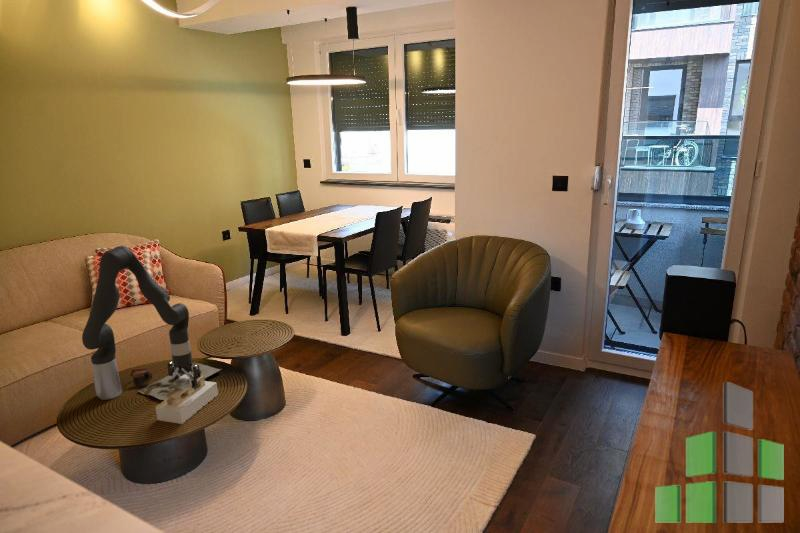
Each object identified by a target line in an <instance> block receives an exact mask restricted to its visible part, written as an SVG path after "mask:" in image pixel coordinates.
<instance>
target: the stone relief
mask: <svg viewBox="0 0 800 533" xmlns="http://www.w3.org/2000/svg"><path fill="white" fill-rule="evenodd" d="M191 363H192V365H197V364H198V365H199V369H200V374H201V375H203V376H204V379H207V378H208V377H211V376H212V375H214V374H216V373H217V372H219V371H221V370H222V368H220V369H219V368H216V367H212V366H210V365H206V364H202V363H199V362H191ZM189 373H191V371H190V372H189ZM183 375H184V374H179V375H178V376H179V378H180V377H181V376H183ZM171 382H172V383H171ZM173 382H174V379H173V377H172V376H169V375H166V376H164V377H163V378H161V379H160V380H157V381H155V382H152V383H151V384H149V385H148V386H145V387H144V388H141V389H140V390H139V389H138V390H137V392H138V393H140V394H143V395H146V396H150V397H151V396H152V397H153V398H156V399H158V400H160V401H164V400H166V394H167V393H169V392H170V391H172V390H173V389H174V386H173ZM153 387H154V388H153ZM171 387H172V388H171ZM148 388H150V389H151V390H150V391H149V392H148V393H149V394H148V393H146V392H147V391H148V390H149V389H148ZM147 389H148V390H147ZM145 391H146V392H145Z"/></svg>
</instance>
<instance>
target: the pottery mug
mask: <svg viewBox="0 0 800 533" xmlns="http://www.w3.org/2000/svg"><path fill="white" fill-rule="evenodd" d="M129 376H130V377H131V378H132V381H131V382H130V384H131V387H132V388H135V387H143V386H145V383H149V382H150V381H151V380H152V378H153V372H152V371H150V368H149V367H140V368H139V367H138V368H134V369H131V373H130V374H129Z"/></svg>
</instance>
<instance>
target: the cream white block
mask: <svg viewBox="0 0 800 533" xmlns="http://www.w3.org/2000/svg"><path fill="white" fill-rule="evenodd" d="M192 376H193V375H192ZM193 377H194V376H193ZM180 378H187V379H189V382H190V385H191V384H192V383H191V379H190V377H188V376H187V375H185V374H184V375H183V376H181V377H180Z"/></svg>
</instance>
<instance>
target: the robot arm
mask: <svg viewBox="0 0 800 533" xmlns="http://www.w3.org/2000/svg"><path fill="white" fill-rule="evenodd" d="M126 269H127V270H128V271H129V272H131V273H132V274H133V275H134V277H135V279H136V281H137V285H138V287H139V290H140V293H141V294H142V295H143V297H144V298H145V299H146V300H147V301H148V302H149V303H150V304H151V305H152V306H153V307H154V308H155V309H156V310H155V311H156V312H157V313H158V315H159V317H160V318H161V320H162V321H163V322H165V323H166V324H167V325H170V326H172V327H171V328H170V329H169V331H168V332H169V333H168V334H169V335H168V336H169V342H170V354H171V359H172V361H169V362H168V363H167V372H168V373H167V376H172V377H173V379H174V381H176V380H177V379H179V376H178V375H179V374H185V375H187V376H188V377H190V379H191V383H192V388H195V387H196V386H197V379H198V378H200V377H201V374H200V369H199V365H198V364H197V365H192V363H193V362H192V361H193V357H192V349H191V343H190V339H189V332H188V331H189V330H188V328H189V320H190V312H189V309H188V307H187V306H186V305H185V304H184V303H182V302H181V303H180V302H179V303H175V304H172V306H171V305H170V303H169V302H170V300H171V296H170V294H168V292H167V291H166V290H165V289H164V288H163V287H162V286H160V285H159V283H158V282H156V281H155V279H154V278H153V277H152V276H151V274H150V273H149V272H148V271H147V269H146V267H145V266H144V265H143V263H142V262H141V261H140V260H139V258H138V257H137V255H136V254H135V253H134V251H132V250H131V249H130V248H129V247H127V246H125V245H120V246H116V247H114V248H111V249H109V250H107V251H105V252H104V253H103V254H102V255H101V256H100V261H99V268H98V279H97V283H96V288H95V291H94V295H93V299H92V304H91V308H90V313H89V315H88V318H87V322H86V324H85V326H84V328H83V331H82V335H81V340H82V345H83V346H84V347H85V349H87V350H96V349H97V350H96V351H95V352H93V354H92V355H91V357H90V360H91V365H92V371H93V375H94V377H93V383H94V388H95V394H96V398H97V397H98V399H100V400H102V401H103V400H105V401H106V400H112V399H115V398H118V397H119V396H120V395H121V394H122V393H123V390H122V385H121V384H122V383H121V379H120V374H119V369H118V362H117V360H116V352H117V349H116V348H117V347H116V341H115V334H114V330H113V329H112V327H111V326H110V325H109V324H107V322H108V321H109V319H110V318H111V317H112V316H113V315H114V313H115V312H116V311H117V308H118V305H119V302H120V297H121V296H120V294H121V292H120V291H119V288H118V286H117V285H116V281H117V277H118V275H119V274H120V272H122V271H124V270H126ZM190 371H191V373H189V372H190ZM192 375H193V376H194V377H193V376H192Z"/></svg>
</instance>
